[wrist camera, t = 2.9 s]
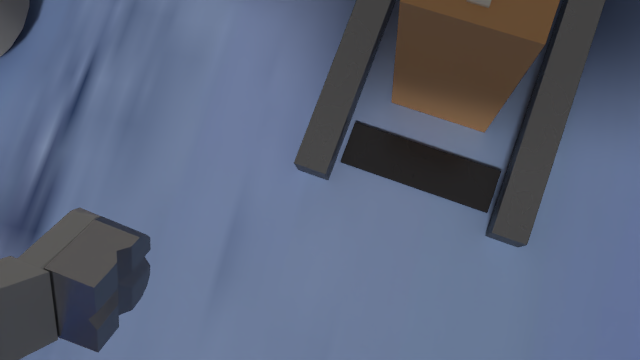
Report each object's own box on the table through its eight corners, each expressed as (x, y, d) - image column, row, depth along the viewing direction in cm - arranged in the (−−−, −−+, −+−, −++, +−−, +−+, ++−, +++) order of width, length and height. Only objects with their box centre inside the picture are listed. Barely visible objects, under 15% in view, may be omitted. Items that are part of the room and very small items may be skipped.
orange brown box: (484, 132, 27) (546, 43, 17) (391, 102, 28) (399, -1, 18) (510, 54, 28) (585, -76, 18) (419, 26, 28) (442, -114, 19)
